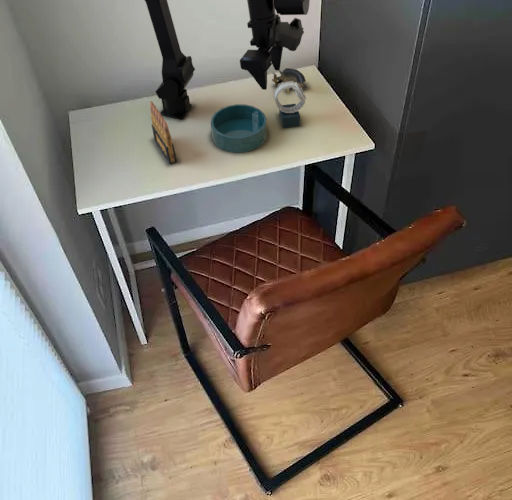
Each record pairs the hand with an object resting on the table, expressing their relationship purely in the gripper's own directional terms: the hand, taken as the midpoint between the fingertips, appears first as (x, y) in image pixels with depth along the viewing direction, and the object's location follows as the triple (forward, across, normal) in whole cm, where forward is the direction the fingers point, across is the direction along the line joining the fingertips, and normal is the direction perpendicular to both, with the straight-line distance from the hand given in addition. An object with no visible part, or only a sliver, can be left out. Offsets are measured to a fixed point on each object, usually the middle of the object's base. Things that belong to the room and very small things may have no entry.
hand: (271, 79), depth 137 cm
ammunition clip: (+12, -16, +24) cm, 31 cm away
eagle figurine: (+14, +19, +3) cm, 24 cm away
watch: (+15, +5, -1) cm, 16 cm away
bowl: (+14, -4, +9) cm, 17 cm away
